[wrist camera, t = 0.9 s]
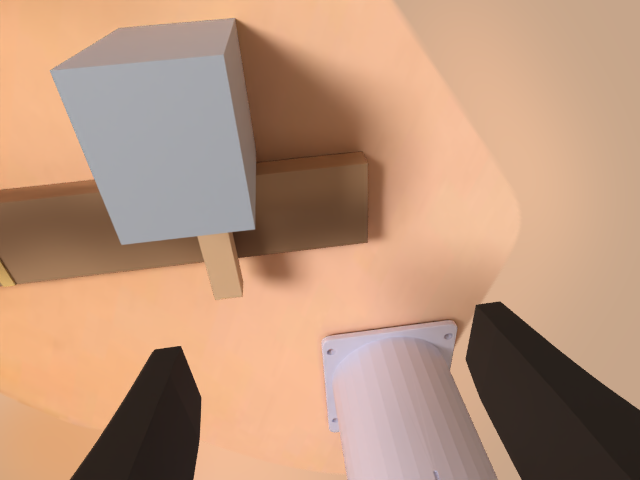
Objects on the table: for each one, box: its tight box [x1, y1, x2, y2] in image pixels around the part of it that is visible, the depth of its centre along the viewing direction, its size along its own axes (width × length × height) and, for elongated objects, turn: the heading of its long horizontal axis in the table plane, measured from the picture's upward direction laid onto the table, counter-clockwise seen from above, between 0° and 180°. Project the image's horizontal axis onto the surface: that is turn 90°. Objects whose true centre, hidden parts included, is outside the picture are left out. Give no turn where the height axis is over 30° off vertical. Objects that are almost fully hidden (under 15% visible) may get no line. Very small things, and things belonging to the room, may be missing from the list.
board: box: [0, 152, 368, 287], centre depth 18 cm, size 4×22×1 cm, turn 94°
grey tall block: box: [50, 18, 256, 300], centre depth 15 cm, size 10×4×6 cm, turn 4°
